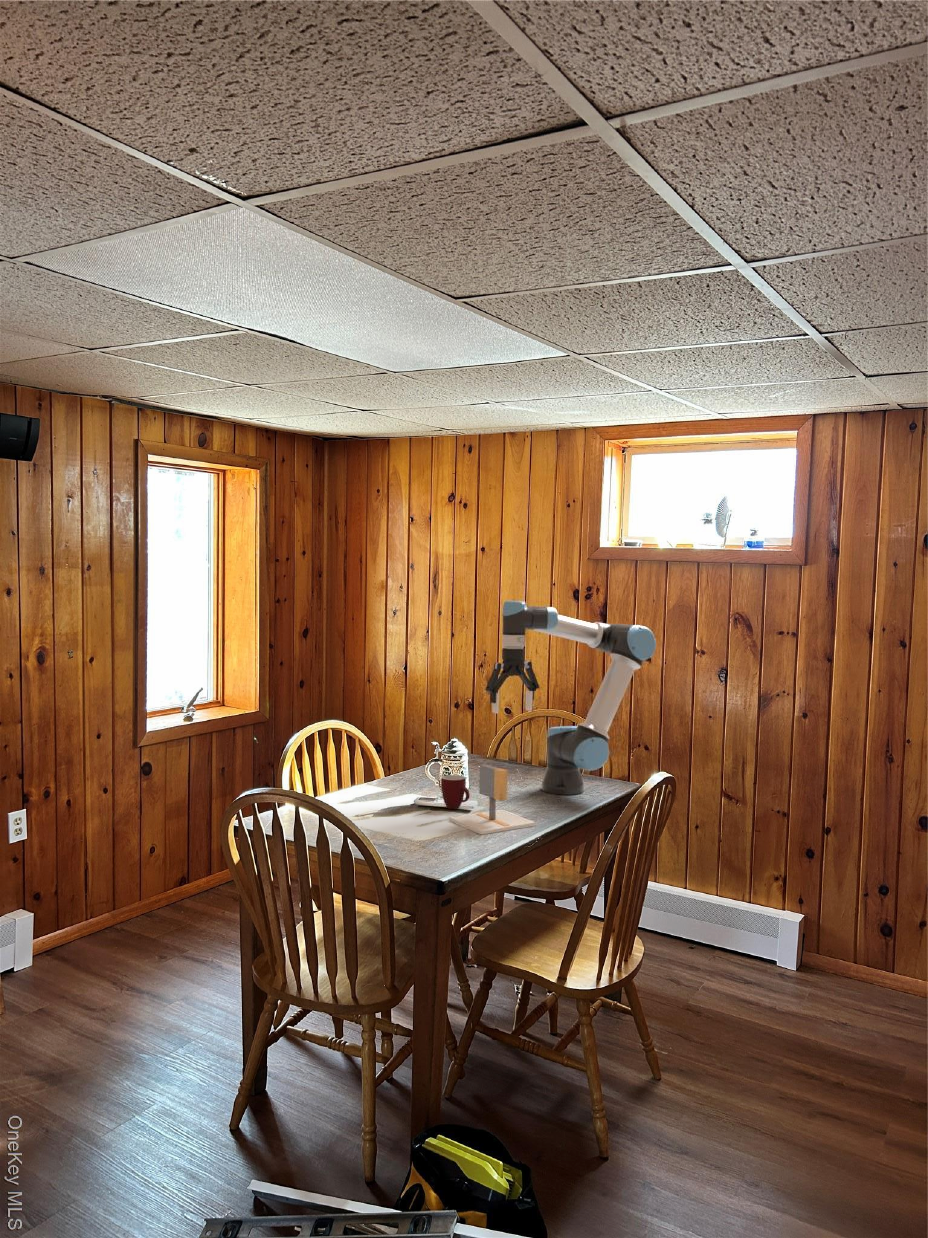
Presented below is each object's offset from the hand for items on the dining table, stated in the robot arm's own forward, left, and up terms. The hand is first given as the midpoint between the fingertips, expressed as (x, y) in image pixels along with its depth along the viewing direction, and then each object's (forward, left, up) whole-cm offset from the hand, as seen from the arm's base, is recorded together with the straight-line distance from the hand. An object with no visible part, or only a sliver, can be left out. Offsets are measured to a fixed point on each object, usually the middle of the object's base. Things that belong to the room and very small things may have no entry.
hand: (512, 711), depth 302 cm
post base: (+17, +14, -32) cm, 39 cm away
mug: (+17, -7, -32) cm, 37 cm away
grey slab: (+17, +14, -23) cm, 32 cm away
